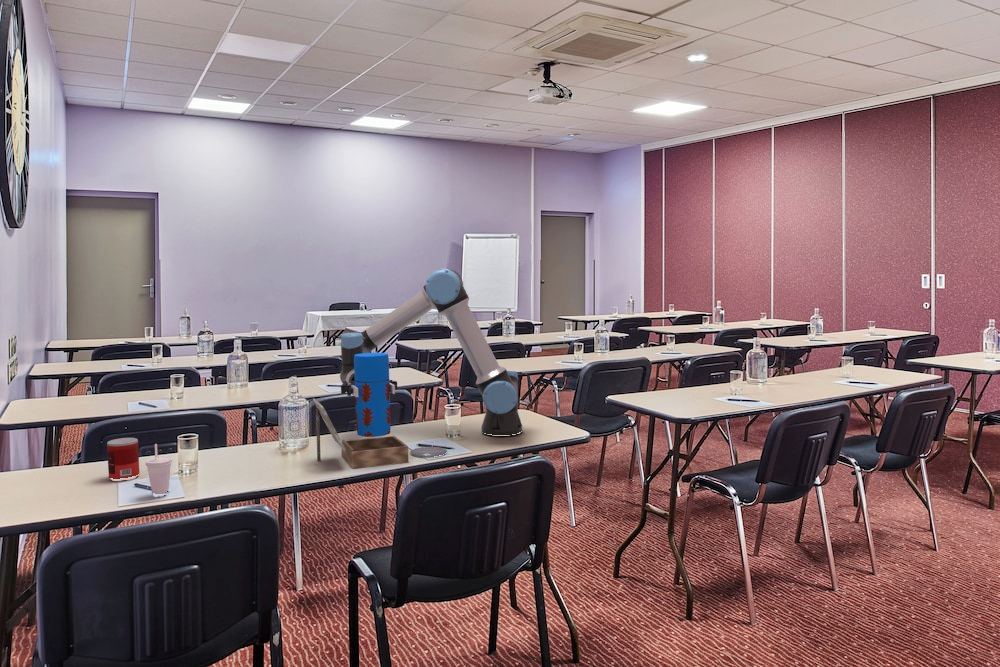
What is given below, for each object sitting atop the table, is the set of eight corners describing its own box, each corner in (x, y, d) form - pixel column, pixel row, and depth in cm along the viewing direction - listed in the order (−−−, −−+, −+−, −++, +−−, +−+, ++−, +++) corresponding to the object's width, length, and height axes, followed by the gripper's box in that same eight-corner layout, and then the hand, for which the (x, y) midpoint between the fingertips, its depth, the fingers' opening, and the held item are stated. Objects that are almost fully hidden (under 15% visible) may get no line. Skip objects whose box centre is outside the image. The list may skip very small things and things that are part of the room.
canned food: (145, 474, 208) (143, 438, 207) (126, 482, 200) (124, 444, 199) (122, 473, 209) (121, 436, 208) (102, 481, 201) (100, 443, 200)
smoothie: (145, 494, 189) (142, 443, 188) (171, 490, 193) (168, 439, 192) (149, 500, 184) (146, 448, 183) (175, 496, 188) (173, 444, 187)
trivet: (439, 447, 239) (439, 445, 239) (452, 455, 229) (452, 453, 228) (405, 450, 235) (405, 449, 235) (416, 459, 224) (416, 457, 224)
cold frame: (394, 450, 235) (393, 392, 233) (408, 462, 221) (407, 400, 219) (314, 459, 224) (312, 398, 223) (323, 472, 210) (321, 407, 208)
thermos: (383, 437, 217) (381, 356, 215) (351, 436, 219) (348, 356, 217) (395, 429, 228) (393, 352, 226) (364, 428, 230) (361, 352, 228)
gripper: (393, 389, 244) (412, 399, 224) (324, 395, 234) (338, 406, 214) (392, 367, 243) (411, 376, 223) (324, 373, 234) (337, 382, 214)
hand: (375, 391), depth 219 cm, fingers closed on thermos, 11 cm apart
